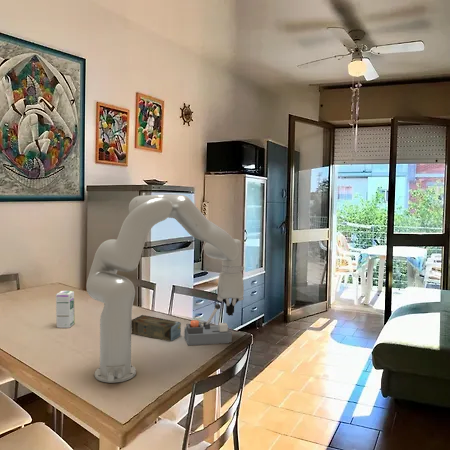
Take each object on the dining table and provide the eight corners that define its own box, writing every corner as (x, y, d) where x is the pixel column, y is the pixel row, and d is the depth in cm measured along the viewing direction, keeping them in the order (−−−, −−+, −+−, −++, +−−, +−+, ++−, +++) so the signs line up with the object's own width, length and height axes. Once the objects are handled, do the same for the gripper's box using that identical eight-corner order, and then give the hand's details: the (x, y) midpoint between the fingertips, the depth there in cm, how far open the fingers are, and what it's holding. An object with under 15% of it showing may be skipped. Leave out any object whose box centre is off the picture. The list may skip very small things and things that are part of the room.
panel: (231, 342, 168) (232, 327, 168) (188, 345, 164) (188, 329, 164) (225, 334, 178) (225, 319, 177) (184, 336, 174) (184, 321, 173)
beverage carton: (171, 342, 167) (171, 325, 167) (130, 334, 175) (130, 318, 175) (181, 336, 175) (181, 320, 174) (141, 328, 183) (141, 313, 182)
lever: (208, 328, 172) (222, 306, 173) (204, 326, 172) (217, 303, 172) (207, 327, 174) (220, 304, 175) (202, 324, 174) (216, 302, 174)
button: (199, 329, 167) (199, 322, 167) (191, 330, 166) (191, 322, 166) (197, 327, 170) (198, 319, 170) (189, 327, 169) (190, 320, 169)
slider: (227, 331, 168) (227, 325, 168) (220, 331, 168) (220, 325, 167) (225, 329, 171) (225, 322, 171) (218, 329, 170) (218, 323, 170)
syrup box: (70, 328, 180) (70, 293, 179) (55, 327, 180) (55, 293, 179) (74, 323, 186) (74, 290, 184) (60, 323, 186) (60, 290, 184)
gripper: (246, 267, 179) (245, 311, 180) (211, 268, 175) (209, 312, 177) (251, 271, 171) (250, 316, 173) (215, 271, 168) (213, 318, 169)
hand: (229, 314), depth 175 cm, fingers closed
